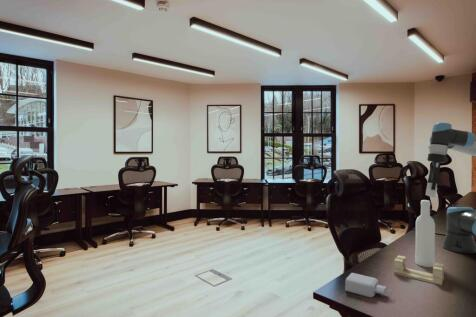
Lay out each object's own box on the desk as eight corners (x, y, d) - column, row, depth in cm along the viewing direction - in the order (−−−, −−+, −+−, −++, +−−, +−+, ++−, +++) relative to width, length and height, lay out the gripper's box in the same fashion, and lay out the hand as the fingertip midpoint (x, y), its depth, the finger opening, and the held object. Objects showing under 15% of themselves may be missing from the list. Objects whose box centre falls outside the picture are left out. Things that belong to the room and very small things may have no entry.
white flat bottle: (389, 304, 103) (345, 291, 112) (394, 294, 110) (352, 283, 119) (389, 290, 103) (345, 279, 112) (394, 281, 110) (352, 271, 119)
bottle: (438, 268, 135) (438, 202, 135) (418, 266, 137) (419, 201, 136) (430, 261, 143) (431, 199, 142) (412, 260, 144) (413, 199, 144)
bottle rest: (398, 268, 134) (398, 255, 134) (443, 278, 123) (443, 264, 123) (394, 273, 128) (394, 260, 128) (441, 285, 117) (441, 269, 117)
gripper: (426, 155, 160) (419, 193, 160) (431, 150, 138) (423, 195, 138) (442, 157, 157) (435, 196, 157) (450, 152, 135) (442, 199, 135)
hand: (429, 196), depth 148 cm, fingers open, 13 cm apart
